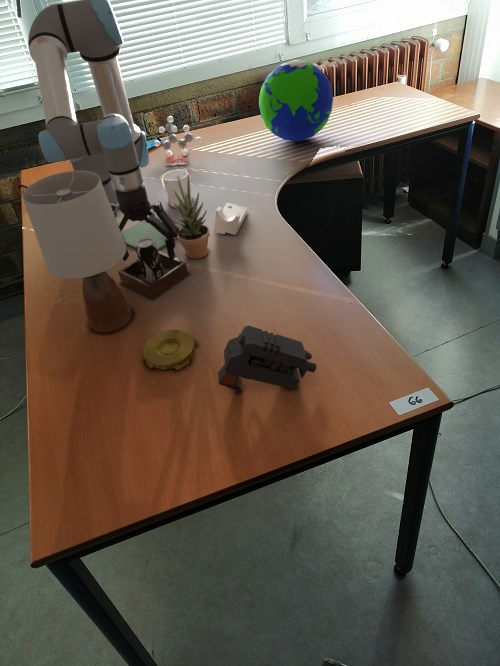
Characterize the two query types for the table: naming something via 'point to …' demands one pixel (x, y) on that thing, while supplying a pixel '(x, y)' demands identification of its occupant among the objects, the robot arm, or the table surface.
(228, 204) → the bracket
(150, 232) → the mat
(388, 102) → the table surface
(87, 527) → the table surface
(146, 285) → the holder
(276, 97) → the globe
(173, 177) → the mug
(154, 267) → the beverage can
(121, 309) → the lamp
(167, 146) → the molecule model
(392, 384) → the table surface
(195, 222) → the potted plant
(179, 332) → the yellow flat disc
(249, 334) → the tool
